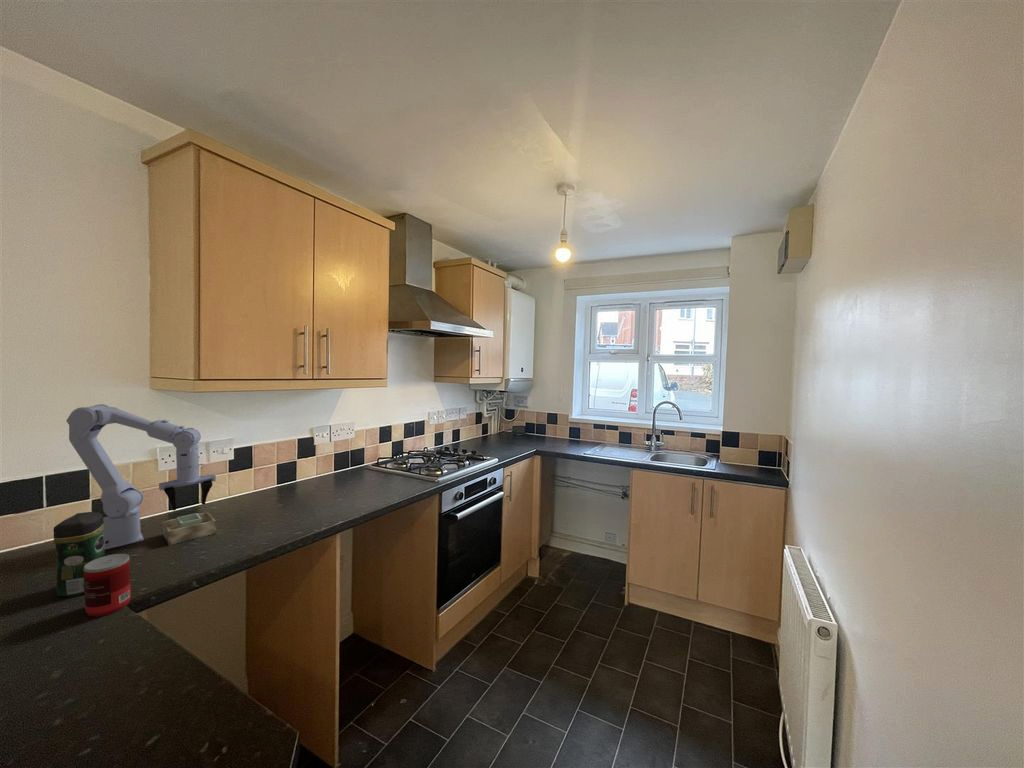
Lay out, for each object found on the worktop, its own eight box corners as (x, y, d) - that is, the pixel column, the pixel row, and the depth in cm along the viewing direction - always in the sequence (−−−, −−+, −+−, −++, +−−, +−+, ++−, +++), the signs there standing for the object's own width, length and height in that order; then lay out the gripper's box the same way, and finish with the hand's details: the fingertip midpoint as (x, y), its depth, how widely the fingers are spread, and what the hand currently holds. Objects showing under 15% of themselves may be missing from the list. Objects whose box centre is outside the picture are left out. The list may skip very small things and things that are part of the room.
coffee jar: (71, 581, 107) (68, 511, 106) (111, 575, 110) (108, 507, 109) (49, 601, 98) (45, 525, 97) (93, 593, 101) (90, 520, 100)
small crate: (181, 538, 131) (180, 523, 131) (177, 532, 136) (176, 517, 136) (202, 533, 135) (201, 518, 135) (197, 527, 140) (197, 513, 140)
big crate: (169, 545, 128) (168, 531, 127) (163, 534, 135) (162, 521, 135) (216, 533, 137) (216, 520, 136) (208, 524, 144) (208, 511, 144)
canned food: (130, 593, 102) (128, 550, 101) (131, 607, 96) (130, 562, 95) (86, 606, 96) (83, 560, 96) (84, 622, 91) (82, 573, 90)
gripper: (160, 472, 127) (162, 515, 127) (217, 464, 137) (218, 504, 138) (157, 468, 131) (158, 509, 132) (212, 460, 142) (213, 499, 143)
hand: (189, 506), depth 135 cm, fingers open, 7 cm apart
